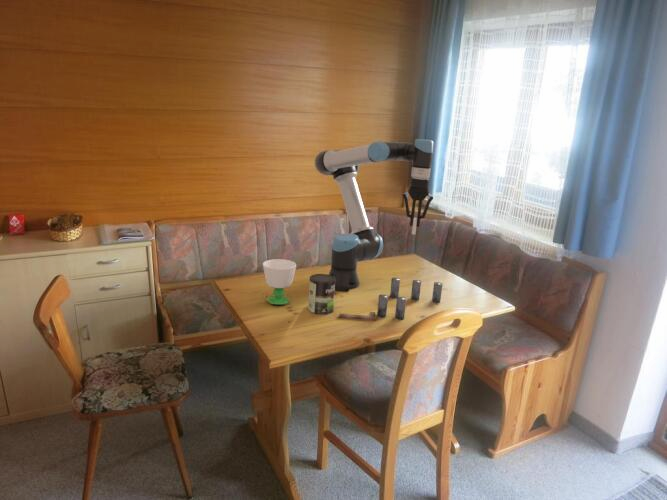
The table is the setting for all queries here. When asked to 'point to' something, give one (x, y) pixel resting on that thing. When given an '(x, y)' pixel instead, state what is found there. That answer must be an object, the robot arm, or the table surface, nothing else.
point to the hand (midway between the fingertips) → (413, 233)
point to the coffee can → (321, 294)
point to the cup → (279, 278)
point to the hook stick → (359, 317)
